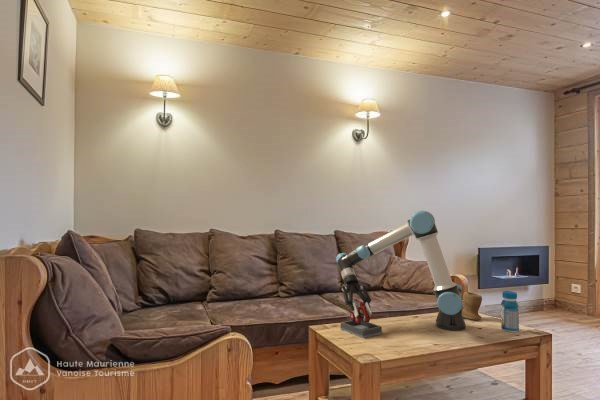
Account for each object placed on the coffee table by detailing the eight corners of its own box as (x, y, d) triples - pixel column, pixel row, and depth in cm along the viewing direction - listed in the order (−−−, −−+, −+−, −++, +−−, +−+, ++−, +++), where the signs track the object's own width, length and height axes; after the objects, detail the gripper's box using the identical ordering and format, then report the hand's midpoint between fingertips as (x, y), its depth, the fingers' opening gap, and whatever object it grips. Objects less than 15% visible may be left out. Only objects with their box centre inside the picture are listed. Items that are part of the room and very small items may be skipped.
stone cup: (487, 319, 218) (486, 293, 219) (473, 322, 212) (473, 295, 213) (464, 313, 231) (464, 288, 232) (451, 315, 226) (451, 290, 226)
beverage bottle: (510, 333, 193) (510, 294, 193) (497, 328, 201) (496, 290, 201) (523, 331, 195) (522, 293, 196) (509, 327, 203) (508, 290, 204)
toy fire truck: (360, 325, 188) (360, 304, 188) (348, 318, 199) (348, 299, 200) (372, 324, 190) (372, 303, 191) (359, 317, 202) (359, 298, 202)
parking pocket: (381, 333, 191) (381, 326, 191) (362, 338, 184) (362, 330, 184) (358, 325, 205) (358, 318, 205) (340, 329, 198) (340, 322, 198)
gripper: (363, 281, 213) (377, 317, 197) (331, 282, 207) (343, 320, 191) (367, 273, 208) (383, 310, 192) (335, 274, 202) (348, 312, 186)
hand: (363, 315), depth 192 cm, fingers closed on toy fire truck, 7 cm apart
